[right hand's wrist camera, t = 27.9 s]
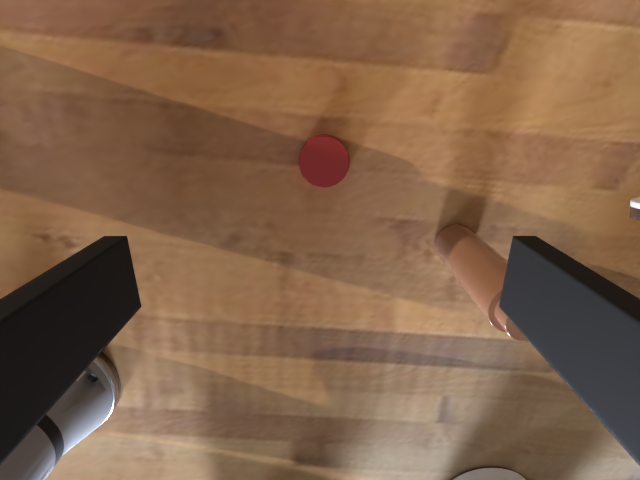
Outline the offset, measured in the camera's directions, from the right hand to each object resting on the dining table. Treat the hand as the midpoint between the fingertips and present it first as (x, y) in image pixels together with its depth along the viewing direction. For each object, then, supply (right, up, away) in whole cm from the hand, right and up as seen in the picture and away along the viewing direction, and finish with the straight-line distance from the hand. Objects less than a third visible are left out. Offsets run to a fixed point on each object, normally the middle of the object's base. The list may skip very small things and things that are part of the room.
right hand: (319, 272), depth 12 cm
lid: (0, +9, +23) cm, 25 cm away
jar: (+15, +1, +28) cm, 32 cm away
